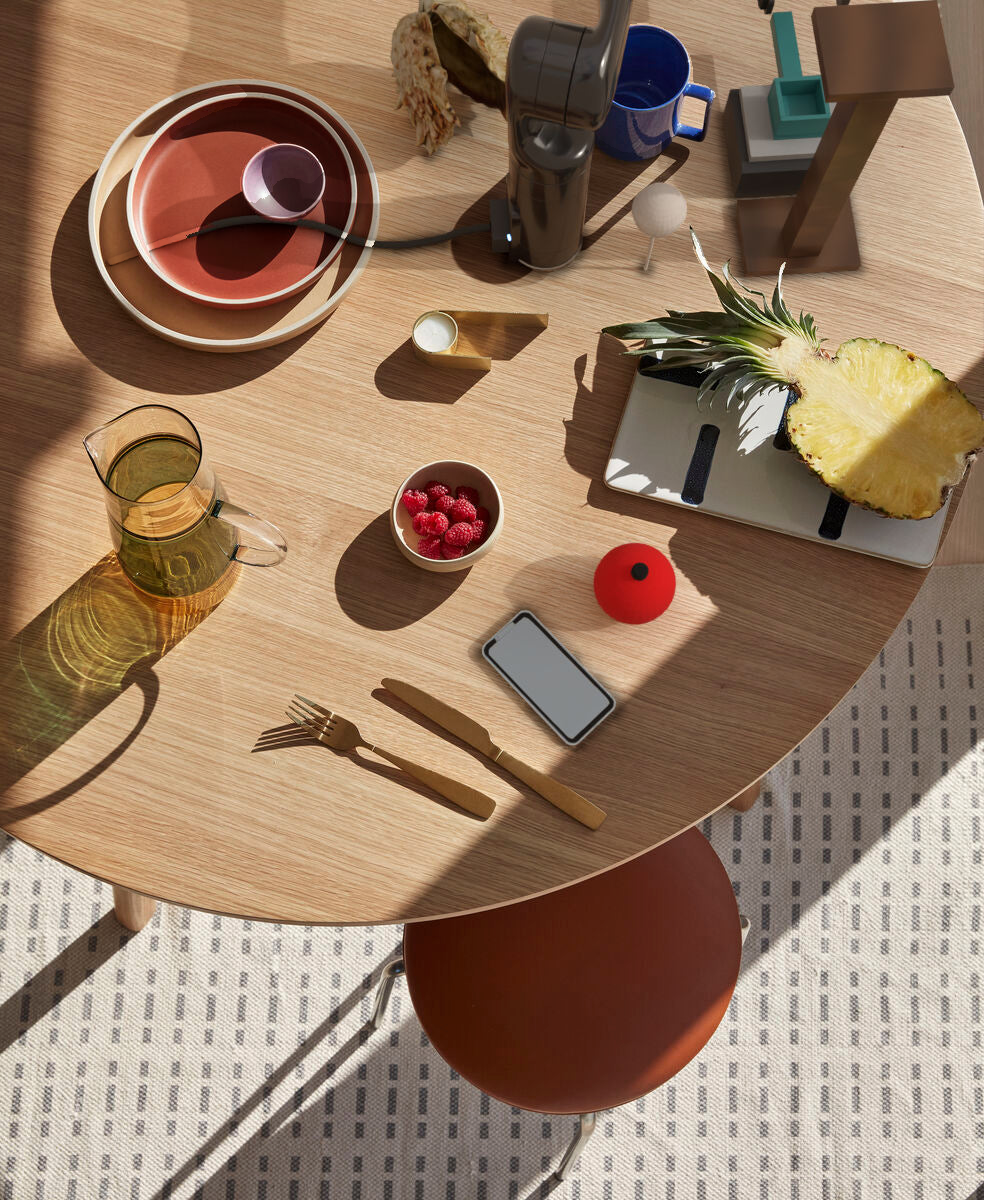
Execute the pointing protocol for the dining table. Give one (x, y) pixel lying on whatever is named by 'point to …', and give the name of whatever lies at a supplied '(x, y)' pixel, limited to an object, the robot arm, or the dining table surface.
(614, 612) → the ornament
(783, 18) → the scoop
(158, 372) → the dining table surface
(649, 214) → the lollipop
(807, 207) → the wooden pedestal stand
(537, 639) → the smartphone
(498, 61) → the seashell
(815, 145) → the scale
